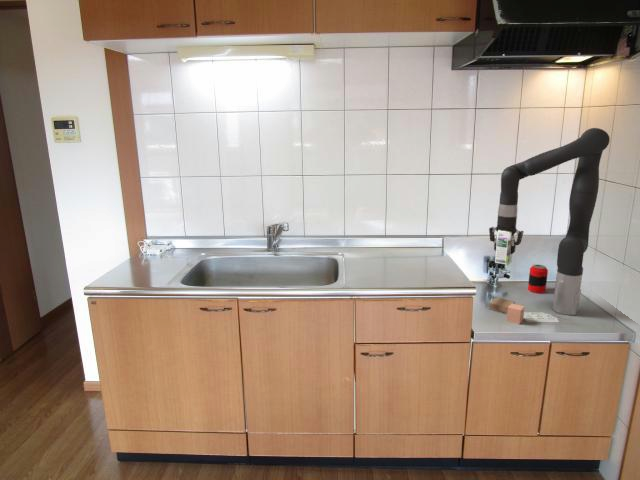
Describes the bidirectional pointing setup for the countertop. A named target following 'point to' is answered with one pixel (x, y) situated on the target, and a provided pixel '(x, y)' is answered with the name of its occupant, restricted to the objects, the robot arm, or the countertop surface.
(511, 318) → the terracotta block
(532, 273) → the soda can
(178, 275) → the countertop surface
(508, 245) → the syrup box
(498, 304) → the walnut slab
